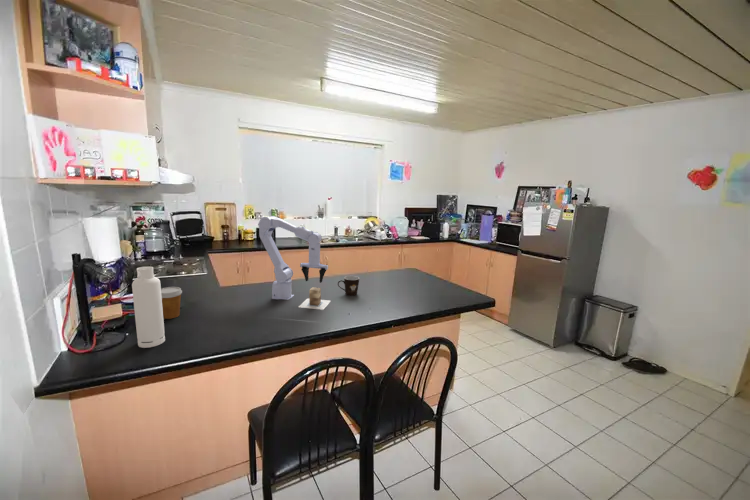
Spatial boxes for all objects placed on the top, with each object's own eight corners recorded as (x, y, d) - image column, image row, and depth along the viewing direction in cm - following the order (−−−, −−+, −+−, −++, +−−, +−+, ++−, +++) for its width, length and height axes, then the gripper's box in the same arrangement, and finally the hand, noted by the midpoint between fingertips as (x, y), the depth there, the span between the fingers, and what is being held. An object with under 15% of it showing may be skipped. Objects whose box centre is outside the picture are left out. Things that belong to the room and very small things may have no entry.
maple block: (309, 297, 155) (309, 289, 154) (312, 294, 159) (312, 287, 158) (318, 298, 154) (318, 290, 153) (320, 295, 158) (320, 288, 158)
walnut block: (309, 304, 156) (309, 297, 155) (312, 301, 160) (312, 294, 159) (318, 305, 155) (318, 298, 154) (320, 302, 160) (320, 295, 159)
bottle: (133, 343, 112) (126, 268, 107) (158, 335, 119) (152, 264, 114) (144, 349, 108) (136, 272, 103) (169, 341, 115) (163, 268, 110)
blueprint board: (298, 308, 152) (298, 306, 152) (307, 299, 165) (307, 298, 165) (323, 310, 151) (323, 309, 150) (330, 301, 163) (331, 300, 163)
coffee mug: (359, 293, 179) (360, 276, 177) (357, 298, 171) (358, 280, 169) (340, 291, 180) (340, 274, 178) (336, 296, 172) (337, 279, 170)
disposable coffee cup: (188, 314, 139) (187, 288, 137) (168, 322, 130) (166, 294, 128) (173, 310, 142) (171, 285, 140) (152, 318, 133) (150, 291, 131)
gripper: (297, 256, 157) (297, 282, 159) (325, 258, 155) (324, 284, 157) (303, 253, 164) (302, 278, 166) (329, 256, 162) (328, 281, 164)
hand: (313, 281), depth 162 cm, fingers open, 7 cm apart
